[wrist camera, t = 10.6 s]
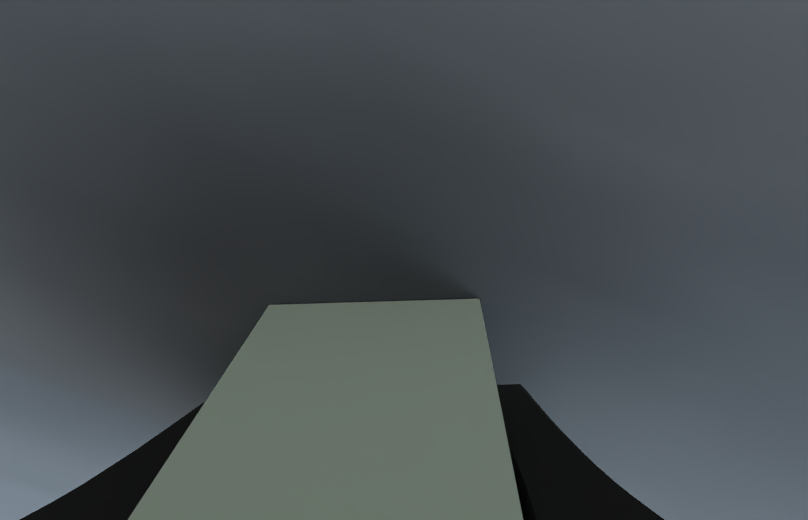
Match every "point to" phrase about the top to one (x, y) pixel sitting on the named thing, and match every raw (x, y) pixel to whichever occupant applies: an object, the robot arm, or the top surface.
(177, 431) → the robot arm
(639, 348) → the top surface
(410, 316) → the sage block
